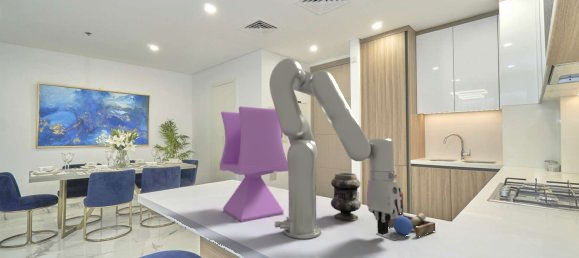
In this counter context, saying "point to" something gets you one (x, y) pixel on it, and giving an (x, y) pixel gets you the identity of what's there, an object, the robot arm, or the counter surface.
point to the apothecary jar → (345, 196)
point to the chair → (252, 161)
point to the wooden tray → (422, 227)
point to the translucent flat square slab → (392, 235)
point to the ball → (402, 225)
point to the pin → (418, 219)
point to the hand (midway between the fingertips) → (382, 233)
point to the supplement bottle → (401, 202)
